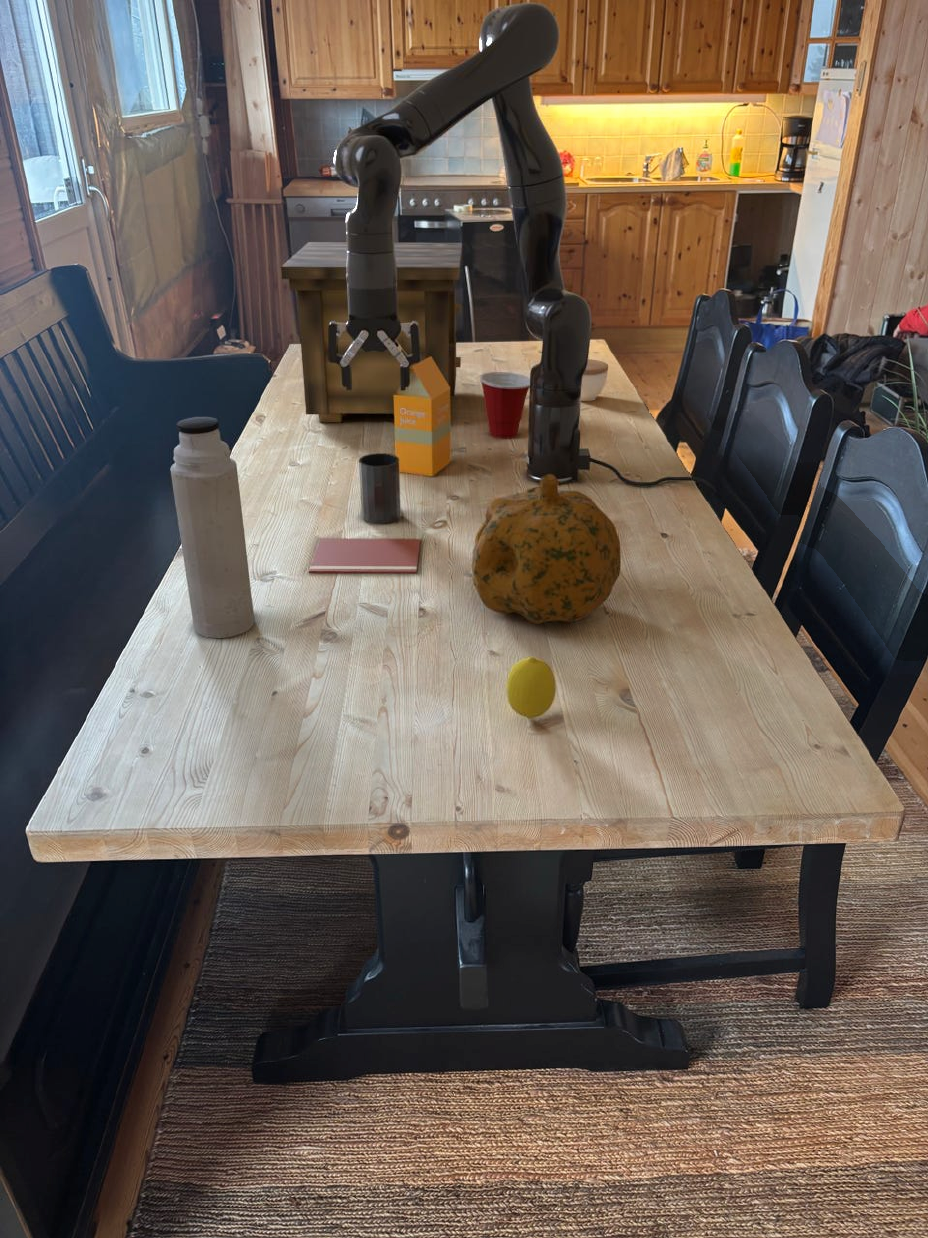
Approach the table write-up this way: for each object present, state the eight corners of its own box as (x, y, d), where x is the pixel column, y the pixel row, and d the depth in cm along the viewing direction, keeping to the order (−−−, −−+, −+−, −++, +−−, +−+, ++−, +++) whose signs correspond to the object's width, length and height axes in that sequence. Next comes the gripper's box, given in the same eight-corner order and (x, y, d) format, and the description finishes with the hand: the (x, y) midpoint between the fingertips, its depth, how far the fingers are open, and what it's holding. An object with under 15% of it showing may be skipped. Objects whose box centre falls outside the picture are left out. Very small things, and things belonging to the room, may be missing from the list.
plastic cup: (526, 444, 199) (528, 385, 193) (474, 440, 201) (474, 382, 195) (534, 428, 209) (536, 371, 203) (484, 425, 210) (484, 369, 205)
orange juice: (395, 471, 185) (391, 364, 176) (414, 456, 192) (412, 353, 183) (433, 476, 182) (431, 368, 173) (451, 461, 190) (451, 357, 180)
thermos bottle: (214, 606, 137) (187, 408, 123) (265, 615, 134) (243, 414, 121) (182, 632, 130) (150, 426, 117) (234, 642, 128) (208, 433, 114)
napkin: (420, 540, 157) (420, 538, 156) (416, 573, 146) (416, 571, 146) (319, 540, 157) (319, 538, 156) (308, 572, 146) (308, 570, 146)
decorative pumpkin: (591, 560, 148) (597, 435, 137) (634, 637, 131) (646, 502, 119) (459, 574, 145) (454, 449, 134) (486, 656, 128) (483, 519, 117)
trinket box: (550, 397, 230) (552, 356, 225) (580, 388, 236) (583, 349, 232) (585, 406, 223) (587, 365, 218) (615, 397, 229) (618, 357, 225)
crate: (318, 384, 239) (308, 242, 224) (461, 385, 239) (461, 242, 223) (294, 428, 208) (281, 266, 193) (459, 429, 208) (459, 267, 192)
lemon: (502, 705, 115) (504, 646, 111) (549, 703, 115) (552, 644, 111) (508, 732, 110) (510, 671, 106) (557, 730, 110) (561, 669, 106)
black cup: (402, 509, 168) (400, 453, 163) (399, 524, 162) (397, 466, 158) (364, 509, 168) (361, 453, 164) (360, 523, 163) (357, 466, 158)
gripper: (420, 278, 151) (422, 383, 158) (328, 277, 151) (334, 382, 158) (418, 286, 144) (420, 396, 152) (321, 286, 144) (328, 395, 152)
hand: (376, 389), depth 155 cm, fingers open, 8 cm apart
